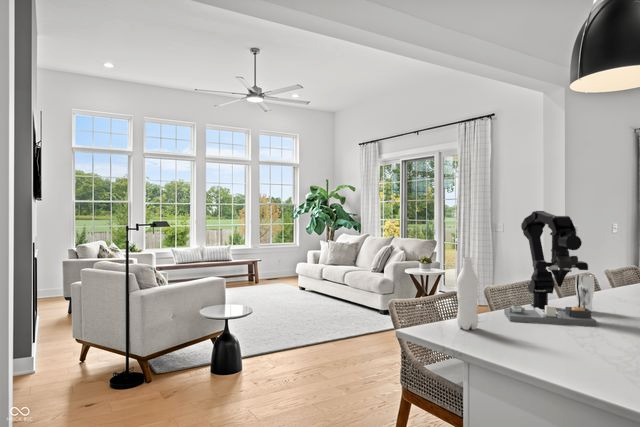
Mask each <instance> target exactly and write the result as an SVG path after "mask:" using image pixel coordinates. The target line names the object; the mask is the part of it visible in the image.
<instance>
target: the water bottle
mask: <svg viewBox="0 0 640 427" xmlns="http://www.w3.org/2000/svg"><path fill="white" fill-rule="evenodd" d="M472 259H473V257H462V264H461V265H462V267H461V270H460V272H459V274H458V276H457V279H456V282H457V283H456V287H457V288H456V290H457V291H456V293H457V294H456V298H457V307H458V308H457V314H456V324H457V325H458V328H460V329H463V330H465V331H468V330H470V329H471V330H473V331H475V330H476V329H477V328H478V324H479V315H478V301H479V295H478V294H479V293H478V292H479V285H478V284H479V279H478V277H477V274H476V273H475V270H474V268H473V265H474V264H473V260H472Z"/></svg>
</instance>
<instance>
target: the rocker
mask: <svg viewBox="0 0 640 427" xmlns="http://www.w3.org/2000/svg"><path fill="white" fill-rule="evenodd" d="M510 307H512V309H522V307H523V306H519V305H511V306H510Z"/></svg>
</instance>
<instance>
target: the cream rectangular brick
mask: <svg viewBox="0 0 640 427" xmlns="http://www.w3.org/2000/svg"><path fill="white" fill-rule="evenodd" d="M544 311H545V314H546V316H551V317H556V311H557V306H555V305H550V304H548V305H545V308H544Z"/></svg>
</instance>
